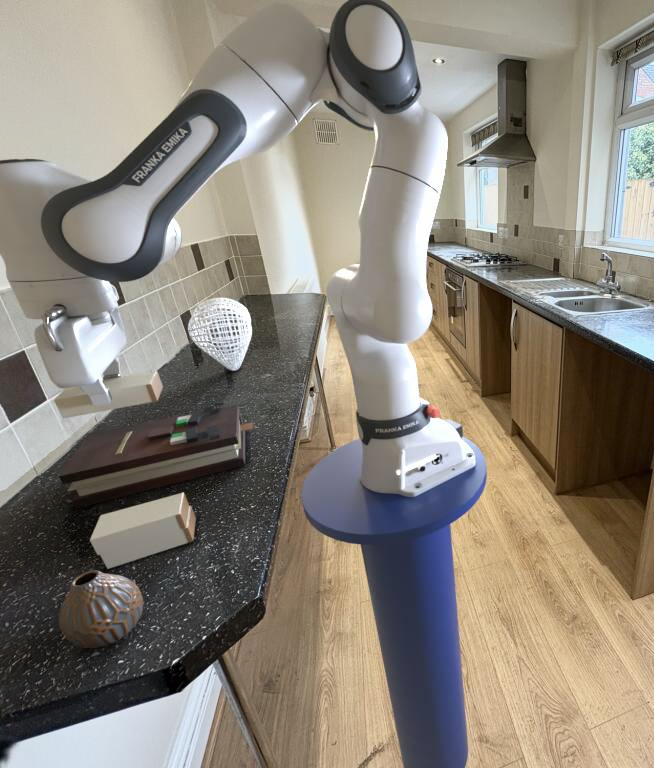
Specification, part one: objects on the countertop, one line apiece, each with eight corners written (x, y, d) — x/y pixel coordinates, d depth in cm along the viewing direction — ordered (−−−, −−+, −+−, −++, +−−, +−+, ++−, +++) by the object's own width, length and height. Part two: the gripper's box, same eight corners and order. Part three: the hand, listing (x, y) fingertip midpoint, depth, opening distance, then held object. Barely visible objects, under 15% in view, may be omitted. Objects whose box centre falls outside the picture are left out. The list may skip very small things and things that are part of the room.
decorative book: (73, 430, 81) (248, 396, 95) (88, 462, 84) (256, 425, 98) (33, 480, 66) (249, 432, 80) (54, 517, 69) (258, 464, 83)
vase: (80, 626, 51) (48, 573, 47) (151, 596, 54) (127, 546, 51) (69, 671, 46) (33, 617, 42) (149, 635, 49) (122, 582, 46)
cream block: (163, 387, 65) (157, 371, 64) (157, 401, 60) (150, 383, 59) (76, 402, 60) (68, 384, 59) (62, 418, 55) (53, 400, 54)
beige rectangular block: (196, 518, 68) (185, 491, 66) (193, 541, 64) (182, 513, 61) (114, 543, 63) (100, 514, 61) (105, 570, 58) (89, 540, 56)
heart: (264, 379, 126) (245, 307, 117) (203, 390, 118) (178, 314, 109) (260, 354, 147) (244, 292, 139) (208, 362, 140) (188, 297, 131)
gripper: (77, 310, 47) (123, 417, 53) (118, 285, 63) (149, 369, 69) (-2, 318, 44) (55, 430, 49) (61, 290, 60) (99, 377, 66)
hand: (110, 394), depth 59 cm, fingers closed on cream block, 6 cm apart
